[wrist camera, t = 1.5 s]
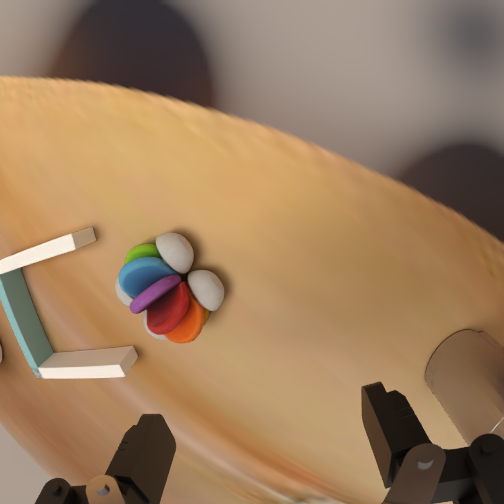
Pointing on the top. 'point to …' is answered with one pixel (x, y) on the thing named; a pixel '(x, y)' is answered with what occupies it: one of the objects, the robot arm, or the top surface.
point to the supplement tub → (0, 354)
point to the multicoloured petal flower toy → (168, 289)
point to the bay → (31, 331)
